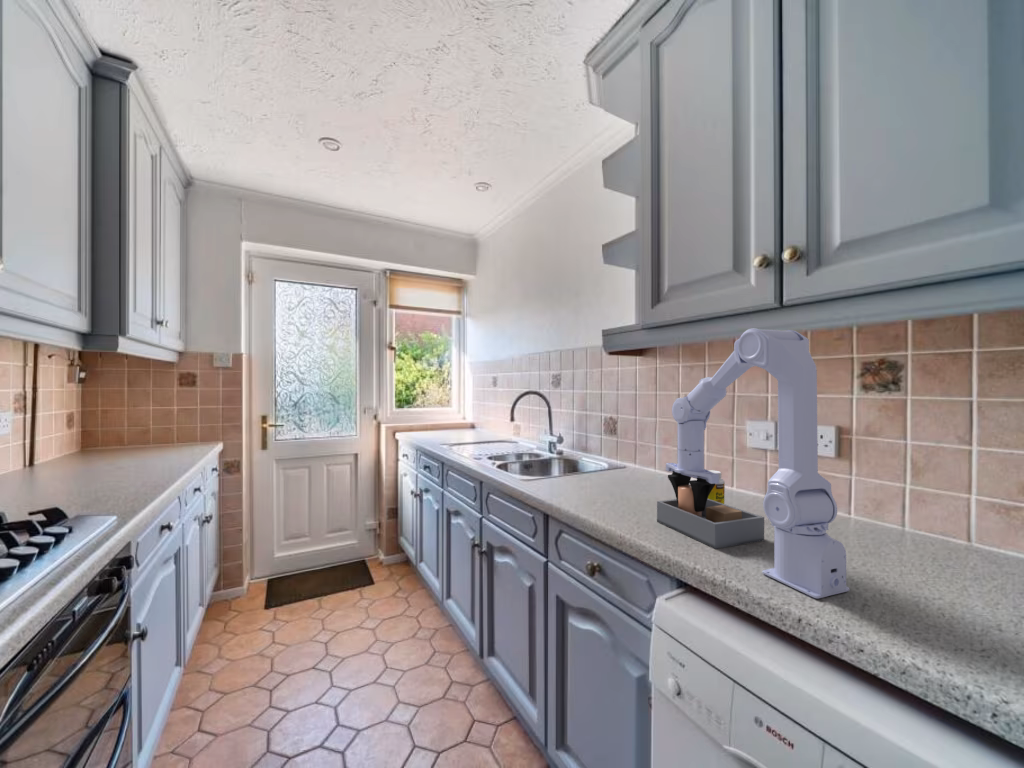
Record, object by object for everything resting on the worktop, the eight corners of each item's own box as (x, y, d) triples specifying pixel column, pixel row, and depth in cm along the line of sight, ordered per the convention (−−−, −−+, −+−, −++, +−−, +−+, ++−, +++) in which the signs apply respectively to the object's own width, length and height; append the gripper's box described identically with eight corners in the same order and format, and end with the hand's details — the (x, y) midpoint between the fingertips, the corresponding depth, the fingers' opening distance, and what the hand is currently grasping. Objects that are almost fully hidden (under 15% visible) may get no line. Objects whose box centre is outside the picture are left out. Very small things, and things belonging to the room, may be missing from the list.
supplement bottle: (717, 514, 106) (717, 474, 106) (697, 508, 111) (697, 470, 111) (728, 510, 109) (728, 472, 109) (708, 505, 114) (708, 468, 114)
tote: (764, 540, 88) (764, 517, 88) (715, 549, 83) (715, 524, 83) (700, 516, 104) (701, 496, 104) (657, 521, 100) (657, 501, 100)
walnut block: (741, 534, 90) (741, 511, 90) (724, 536, 88) (724, 513, 88) (722, 526, 95) (723, 505, 95) (706, 529, 93) (706, 507, 93)
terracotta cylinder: (706, 519, 94) (706, 488, 94) (688, 521, 93) (687, 491, 93) (691, 512, 99) (690, 483, 99) (674, 515, 98) (673, 485, 97)
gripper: (655, 446, 101) (655, 501, 101) (701, 455, 88) (700, 519, 88) (678, 444, 104) (678, 498, 104) (726, 453, 90) (726, 515, 90)
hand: (690, 507), depth 96 cm, fingers closed on terracotta cylinder, 5 cm apart
